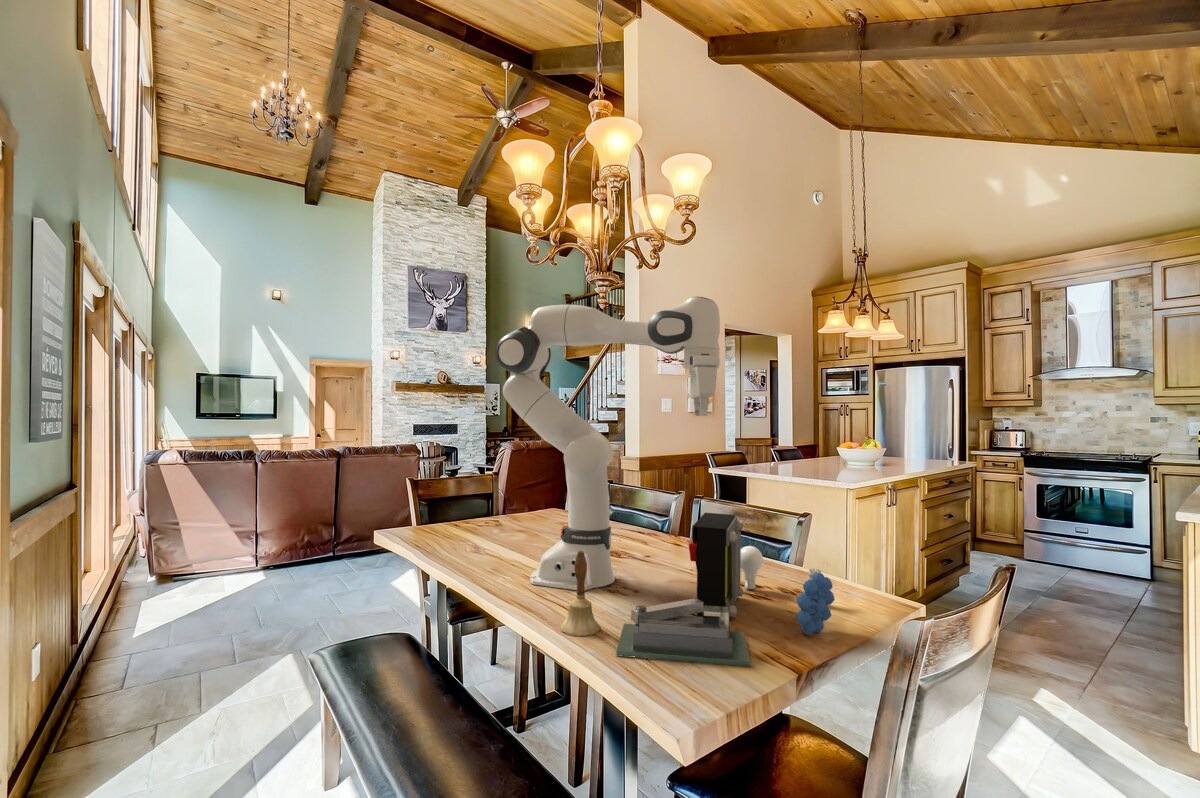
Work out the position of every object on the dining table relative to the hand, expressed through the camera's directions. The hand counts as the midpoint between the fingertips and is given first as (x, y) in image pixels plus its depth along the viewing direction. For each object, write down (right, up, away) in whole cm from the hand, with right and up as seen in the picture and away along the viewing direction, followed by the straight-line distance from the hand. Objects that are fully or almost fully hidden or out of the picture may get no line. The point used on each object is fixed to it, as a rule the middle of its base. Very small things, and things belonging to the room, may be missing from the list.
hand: (700, 415), depth 138 cm
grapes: (+18, -44, -25) cm, 54 cm away
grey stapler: (-10, -43, -33) cm, 55 cm away
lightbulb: (+13, -45, +1) cm, 46 cm away
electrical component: (+2, -44, -11) cm, 46 cm away
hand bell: (-30, -44, -25) cm, 58 cm away
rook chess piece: (+25, -45, -9) cm, 52 cm away
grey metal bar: (-12, -39, -29) cm, 50 cm away
